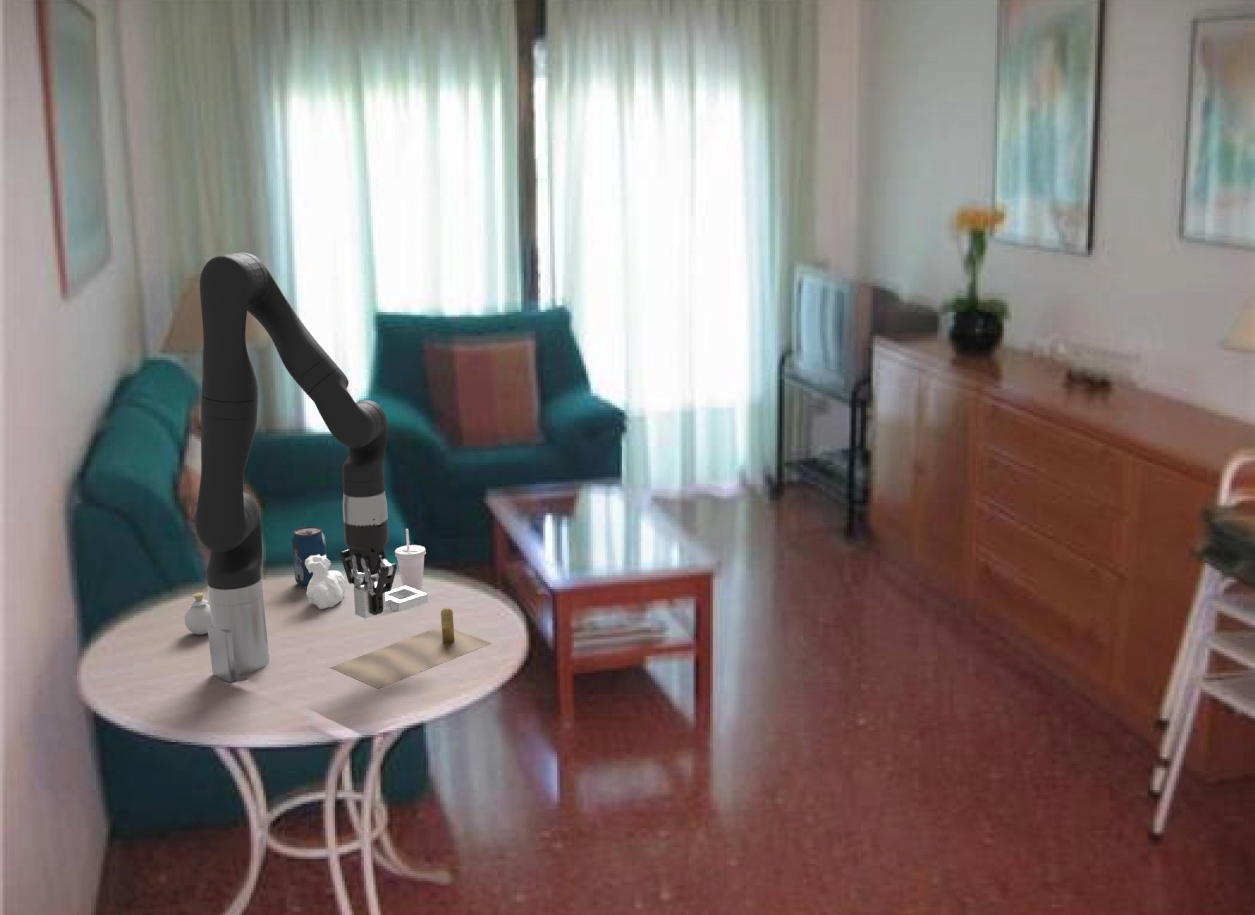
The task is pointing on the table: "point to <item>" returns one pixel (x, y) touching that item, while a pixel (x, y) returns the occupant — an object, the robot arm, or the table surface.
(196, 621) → the white potion bottle
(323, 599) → the white tied bag
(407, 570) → the smoothie
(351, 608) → the table surface
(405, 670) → the board
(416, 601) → the steel link
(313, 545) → the soda can
